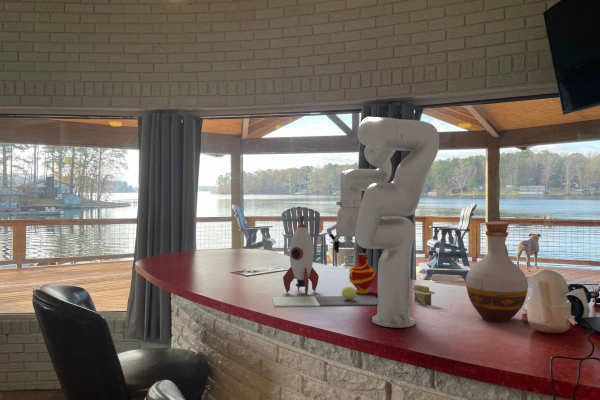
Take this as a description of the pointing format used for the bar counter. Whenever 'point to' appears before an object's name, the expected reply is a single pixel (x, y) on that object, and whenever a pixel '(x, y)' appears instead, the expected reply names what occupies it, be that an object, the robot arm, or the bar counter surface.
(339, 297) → the strip
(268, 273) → the bar counter surface
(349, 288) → the ball
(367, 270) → the potion bottle
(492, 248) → the jug
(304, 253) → the toy
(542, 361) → the bar counter surface
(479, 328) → the bar counter surface
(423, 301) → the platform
